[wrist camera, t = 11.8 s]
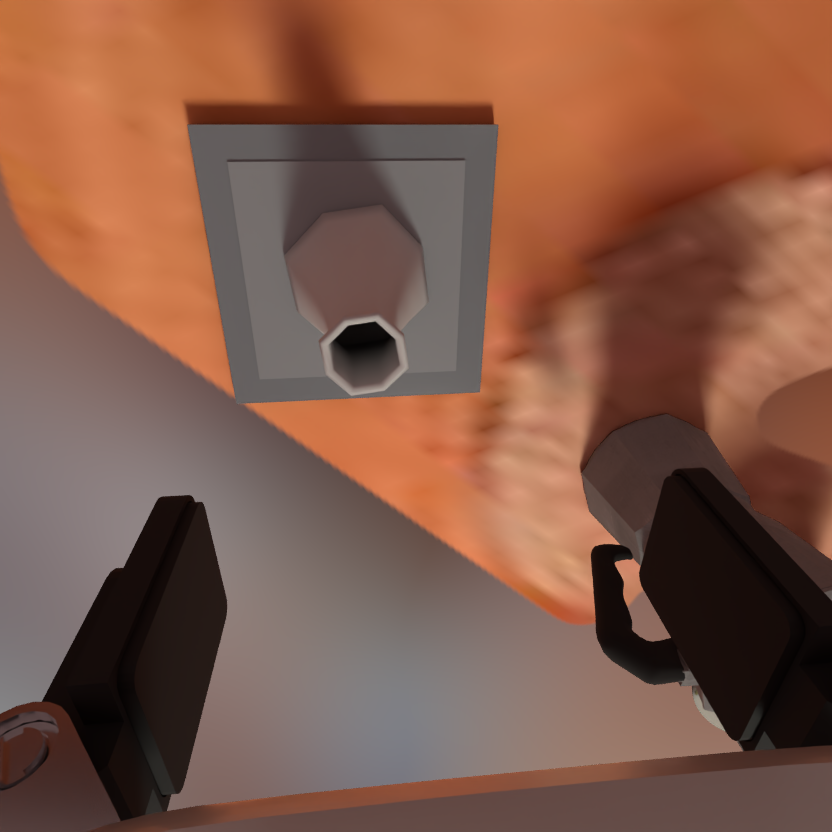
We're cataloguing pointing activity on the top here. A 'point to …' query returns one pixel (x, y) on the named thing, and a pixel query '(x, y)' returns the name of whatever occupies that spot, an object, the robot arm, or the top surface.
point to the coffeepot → (631, 523)
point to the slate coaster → (333, 191)
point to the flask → (359, 293)
